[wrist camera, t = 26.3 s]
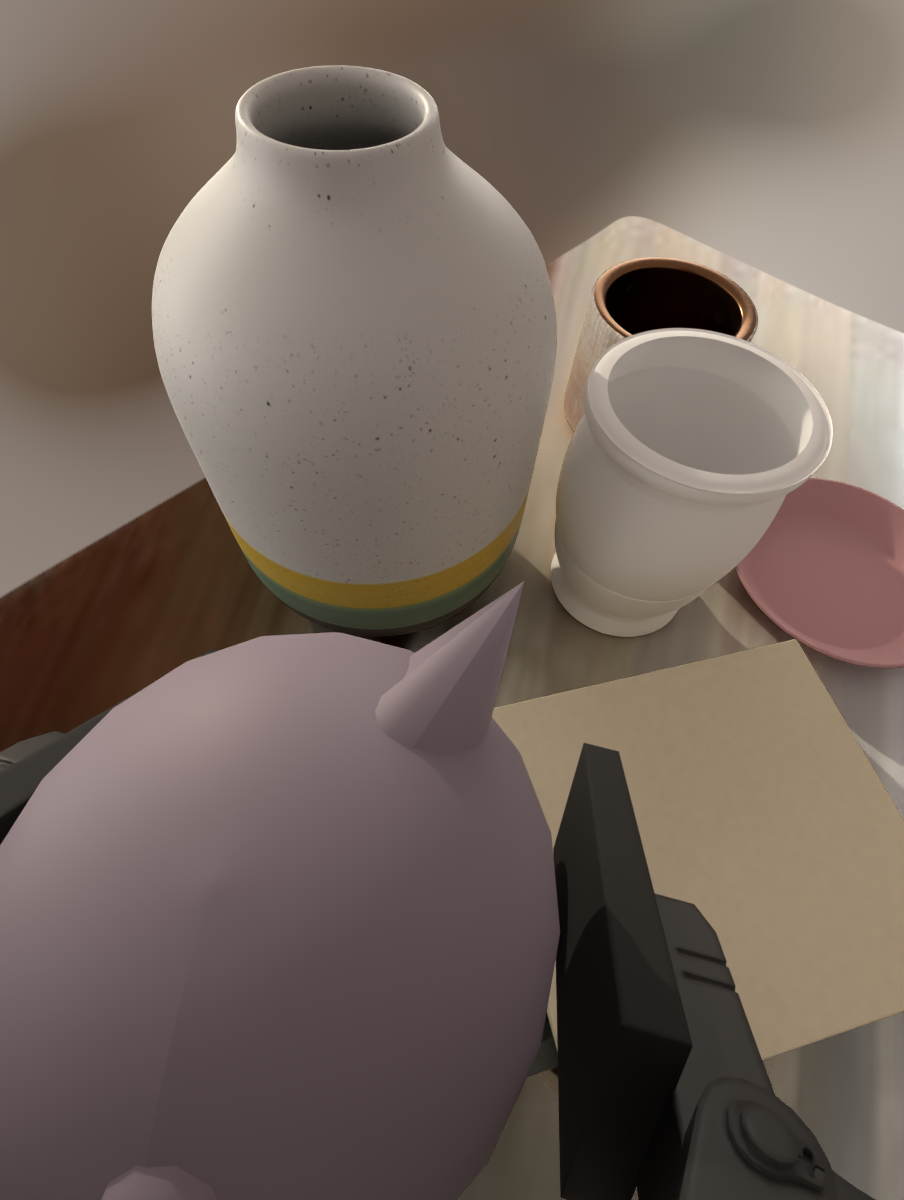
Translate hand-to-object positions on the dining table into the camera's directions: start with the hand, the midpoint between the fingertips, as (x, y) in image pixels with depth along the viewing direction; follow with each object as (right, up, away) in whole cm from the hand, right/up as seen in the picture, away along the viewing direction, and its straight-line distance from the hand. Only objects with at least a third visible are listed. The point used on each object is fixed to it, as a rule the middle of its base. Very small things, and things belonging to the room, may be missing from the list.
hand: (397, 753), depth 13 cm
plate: (+26, +5, +26) cm, 37 cm away
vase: (-3, +7, +26) cm, 27 cm away
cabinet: (+11, -10, +17) cm, 22 cm away
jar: (+12, +4, +25) cm, 28 cm away
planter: (+15, +18, +33) cm, 41 cm away
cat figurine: (-1, -5, +2) cm, 6 cm away
